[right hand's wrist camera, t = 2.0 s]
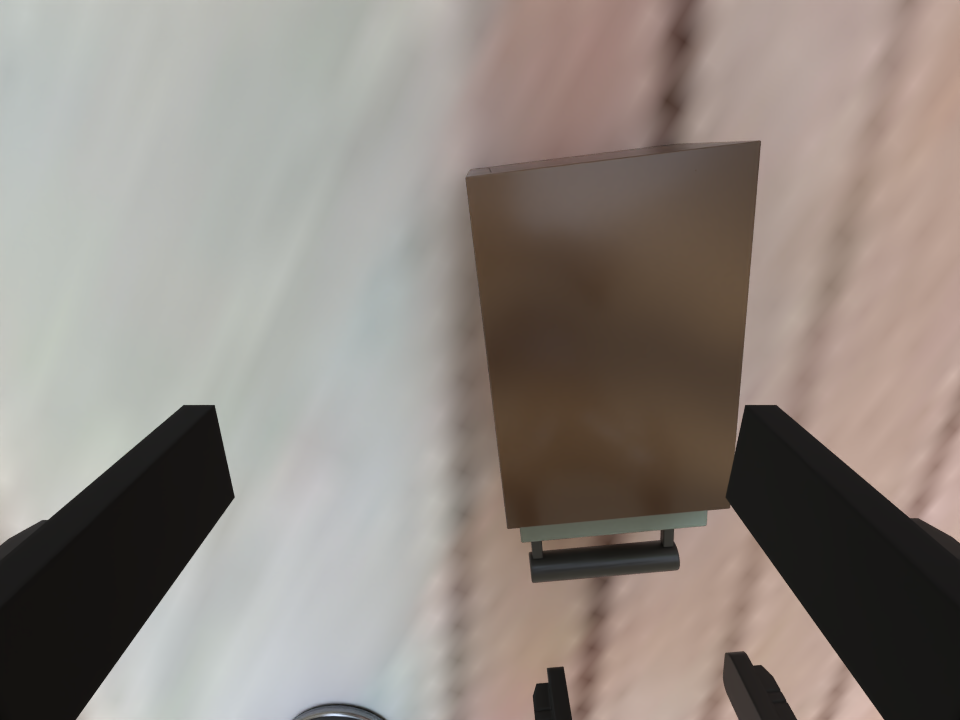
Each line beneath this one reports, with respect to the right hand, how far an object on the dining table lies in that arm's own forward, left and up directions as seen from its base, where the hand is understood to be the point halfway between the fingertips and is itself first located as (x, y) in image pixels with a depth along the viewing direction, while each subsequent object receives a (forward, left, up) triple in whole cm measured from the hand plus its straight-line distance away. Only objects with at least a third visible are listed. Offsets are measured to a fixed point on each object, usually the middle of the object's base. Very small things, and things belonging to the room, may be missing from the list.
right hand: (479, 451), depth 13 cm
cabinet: (-2, +5, -17) cm, 18 cm away
